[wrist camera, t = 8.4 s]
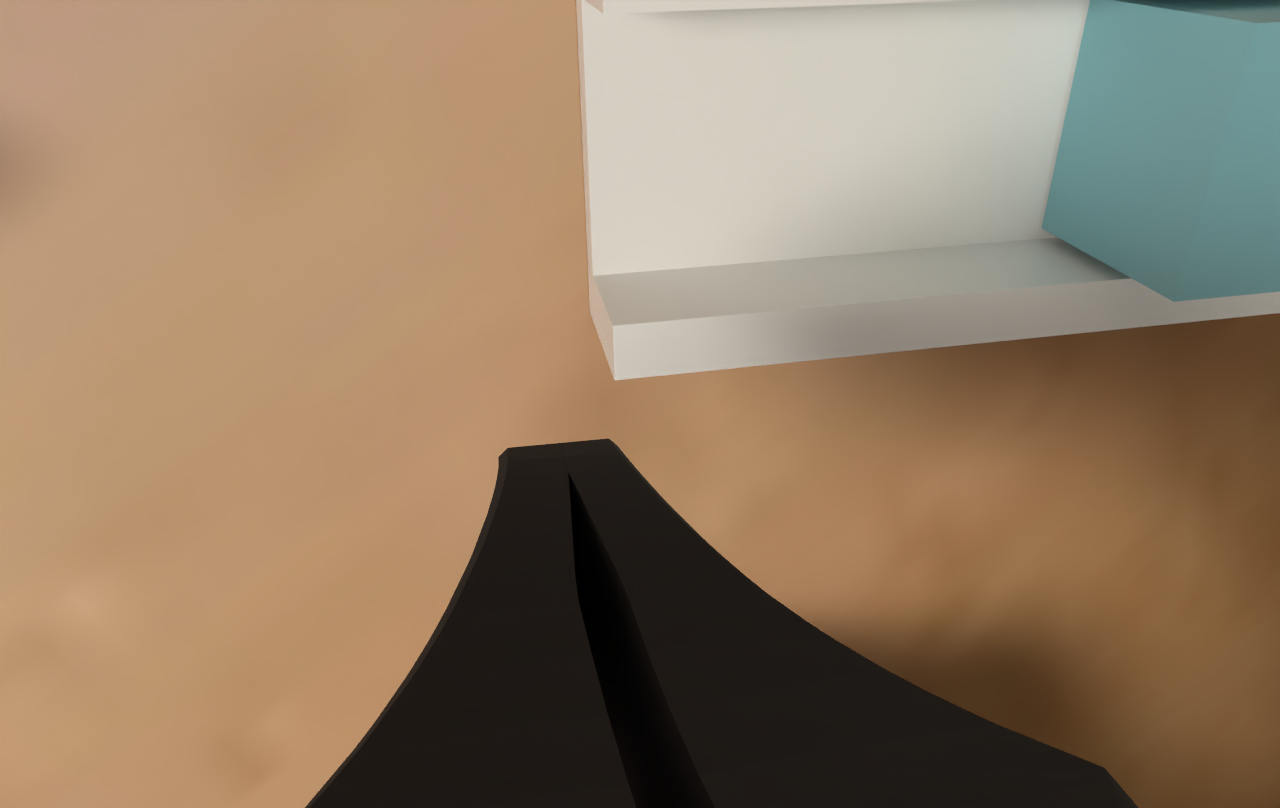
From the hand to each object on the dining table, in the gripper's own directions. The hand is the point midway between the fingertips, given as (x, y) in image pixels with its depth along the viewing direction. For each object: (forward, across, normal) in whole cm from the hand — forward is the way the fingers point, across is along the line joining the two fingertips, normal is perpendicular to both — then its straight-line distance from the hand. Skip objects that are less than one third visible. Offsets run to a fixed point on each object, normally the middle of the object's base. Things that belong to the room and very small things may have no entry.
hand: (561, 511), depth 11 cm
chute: (+10, -12, -2) cm, 16 cm away
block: (+10, -15, -2) cm, 18 cm away
